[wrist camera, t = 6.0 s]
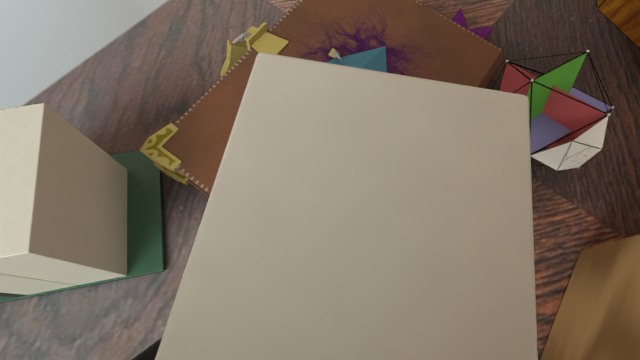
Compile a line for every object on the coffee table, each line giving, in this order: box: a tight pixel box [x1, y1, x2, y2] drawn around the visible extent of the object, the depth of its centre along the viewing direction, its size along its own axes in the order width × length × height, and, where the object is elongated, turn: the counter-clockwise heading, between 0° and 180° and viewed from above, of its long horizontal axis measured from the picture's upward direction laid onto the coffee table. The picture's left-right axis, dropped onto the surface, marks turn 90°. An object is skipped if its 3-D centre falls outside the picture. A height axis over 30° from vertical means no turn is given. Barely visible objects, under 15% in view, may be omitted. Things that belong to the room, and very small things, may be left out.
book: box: [139, 0, 503, 198], centre depth 24 cm, size 16×25×5 cm, turn 144°
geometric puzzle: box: [491, 50, 614, 171], centre depth 22 cm, size 7×7×8 cm
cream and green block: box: [0, 103, 165, 303], centre depth 19 cm, size 8×10×8 cm
